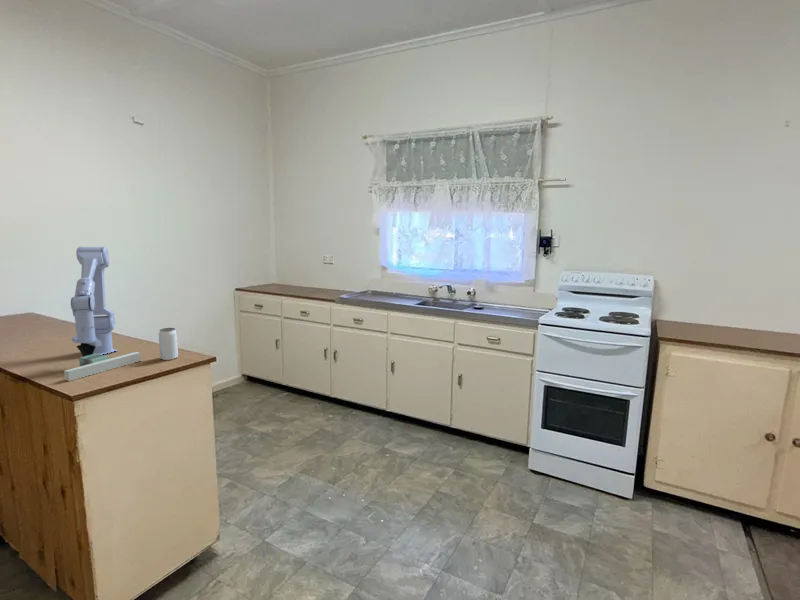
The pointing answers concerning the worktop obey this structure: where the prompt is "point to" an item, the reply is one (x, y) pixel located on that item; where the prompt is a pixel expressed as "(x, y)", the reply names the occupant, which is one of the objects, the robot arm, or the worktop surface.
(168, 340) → the can
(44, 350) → the worktop surface
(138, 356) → the board
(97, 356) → the block
